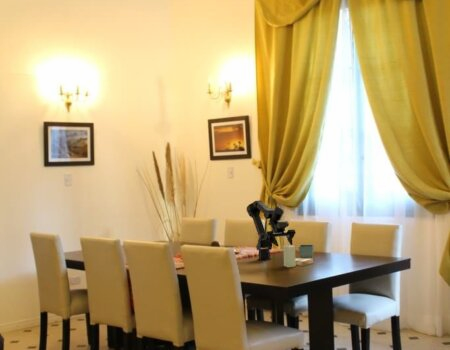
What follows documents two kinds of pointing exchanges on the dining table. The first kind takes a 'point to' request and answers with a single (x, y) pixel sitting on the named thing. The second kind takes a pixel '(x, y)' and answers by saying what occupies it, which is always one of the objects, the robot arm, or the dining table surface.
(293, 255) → the tea tin
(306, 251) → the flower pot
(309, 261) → the tan square coaster
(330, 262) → the dining table surface
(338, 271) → the dining table surface
